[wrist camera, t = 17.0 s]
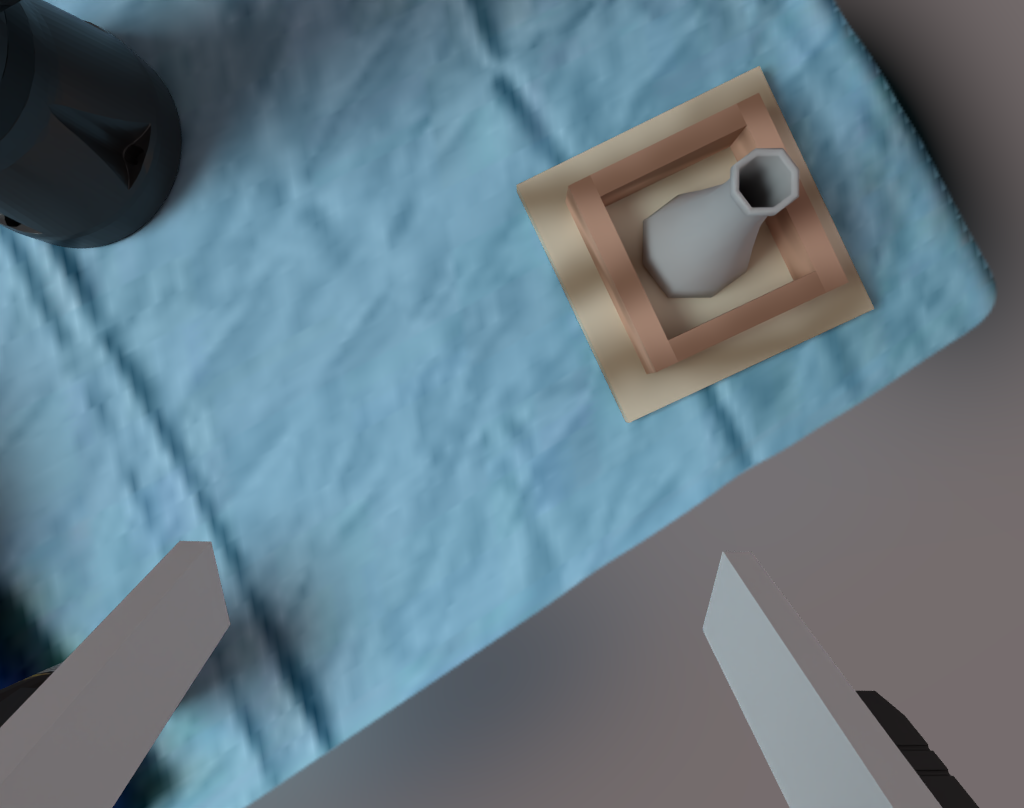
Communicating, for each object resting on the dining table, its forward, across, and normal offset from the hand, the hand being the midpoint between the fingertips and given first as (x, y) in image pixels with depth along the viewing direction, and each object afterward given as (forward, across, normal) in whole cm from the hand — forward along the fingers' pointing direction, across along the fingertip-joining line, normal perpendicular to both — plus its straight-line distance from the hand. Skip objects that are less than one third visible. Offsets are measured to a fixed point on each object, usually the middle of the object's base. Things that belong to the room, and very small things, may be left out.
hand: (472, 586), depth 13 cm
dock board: (+25, +14, +7) cm, 29 cm away
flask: (+24, +14, +8) cm, 28 cm away
